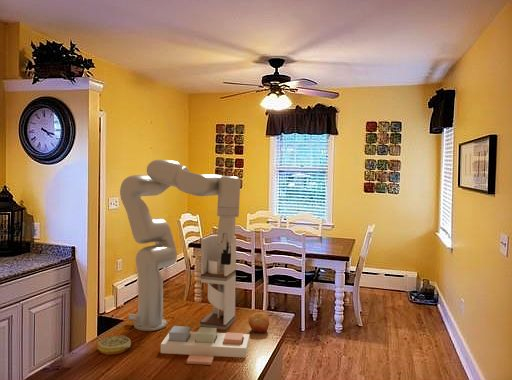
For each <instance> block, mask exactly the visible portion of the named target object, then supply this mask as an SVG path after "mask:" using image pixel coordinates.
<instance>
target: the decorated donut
mask: <svg viewBox="0 0 512 380" xmlns="http://www.w3.org/2000/svg"><path fill="white" fill-rule="evenodd" d="M131 345H132V341H131V339H130V338H129V337H128V336H126V335H111V336H110V335H109V336H105V337H103V338H101V339H100V340H99V341H98V342H97V350H98V351H99V352H100V353H101V354H103V355H106V356H107V355H108V356H113V355H119V354H122V353H125V352H126V351H127V350H128V349H129V348H131Z"/></svg>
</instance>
